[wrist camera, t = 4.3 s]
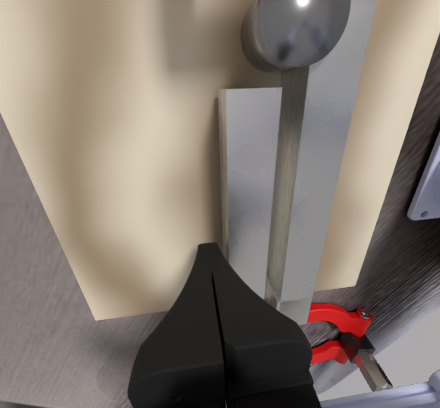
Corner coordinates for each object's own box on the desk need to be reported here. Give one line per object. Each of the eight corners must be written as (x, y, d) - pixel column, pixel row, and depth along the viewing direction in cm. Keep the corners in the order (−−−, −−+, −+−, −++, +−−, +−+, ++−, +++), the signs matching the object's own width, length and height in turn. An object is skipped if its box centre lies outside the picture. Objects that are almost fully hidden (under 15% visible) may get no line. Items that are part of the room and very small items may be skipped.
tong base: (354, -150, 8) (451, -290, 5) (289, 290, 17) (309, 329, 15) (240, -155, 7) (274, -311, 4) (240, 296, 17) (250, 338, 14)
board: (479, -161, 9) (512, -189, 8) (347, 276, 19) (355, 285, 18) (-115, -197, 7) (-161, -240, 6) (100, 308, 17) (95, 320, 16)
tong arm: (264, 87, 10) (286, 87, 8) (253, 299, 17) (263, 333, 14) (217, 88, 10) (226, 89, 8) (224, 303, 17) (230, 337, 14)
